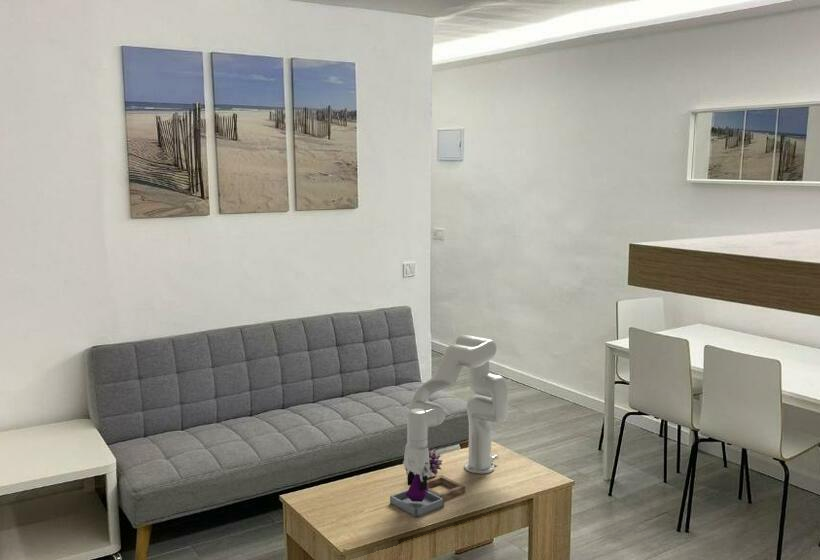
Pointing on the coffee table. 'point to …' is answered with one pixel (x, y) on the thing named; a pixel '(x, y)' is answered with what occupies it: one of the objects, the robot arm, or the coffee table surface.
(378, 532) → the coffee table surface
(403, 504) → the tray
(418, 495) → the perfume bottle
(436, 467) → the flower
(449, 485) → the square wooden frame
